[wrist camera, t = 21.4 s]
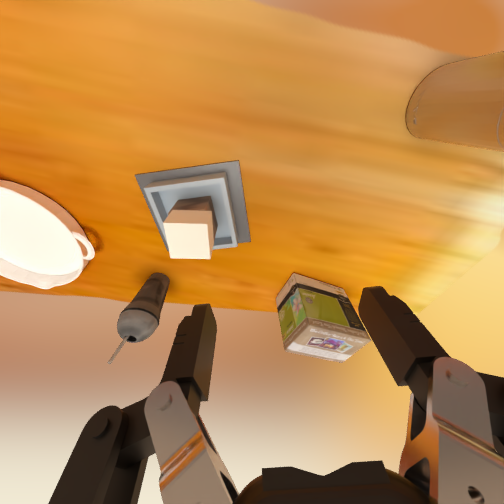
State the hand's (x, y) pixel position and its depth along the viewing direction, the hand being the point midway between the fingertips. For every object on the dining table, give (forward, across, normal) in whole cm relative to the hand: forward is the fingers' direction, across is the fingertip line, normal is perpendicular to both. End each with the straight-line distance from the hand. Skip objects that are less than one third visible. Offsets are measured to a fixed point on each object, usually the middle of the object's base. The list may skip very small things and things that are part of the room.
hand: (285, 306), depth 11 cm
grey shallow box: (+30, +12, +6) cm, 33 cm away
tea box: (+30, -10, +32) cm, 45 cm away
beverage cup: (+30, +26, +22) cm, 46 cm away
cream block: (+23, +11, +6) cm, 26 cm away
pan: (+31, +46, +6) cm, 56 cm away
